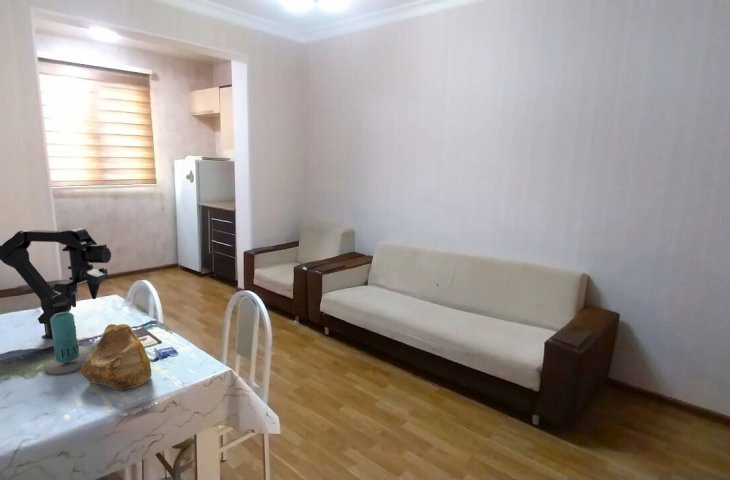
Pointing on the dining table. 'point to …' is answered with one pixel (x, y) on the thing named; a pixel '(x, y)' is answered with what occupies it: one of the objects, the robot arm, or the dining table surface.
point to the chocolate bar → (146, 337)
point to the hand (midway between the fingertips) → (84, 302)
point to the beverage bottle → (64, 334)
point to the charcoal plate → (66, 366)
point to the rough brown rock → (118, 359)
